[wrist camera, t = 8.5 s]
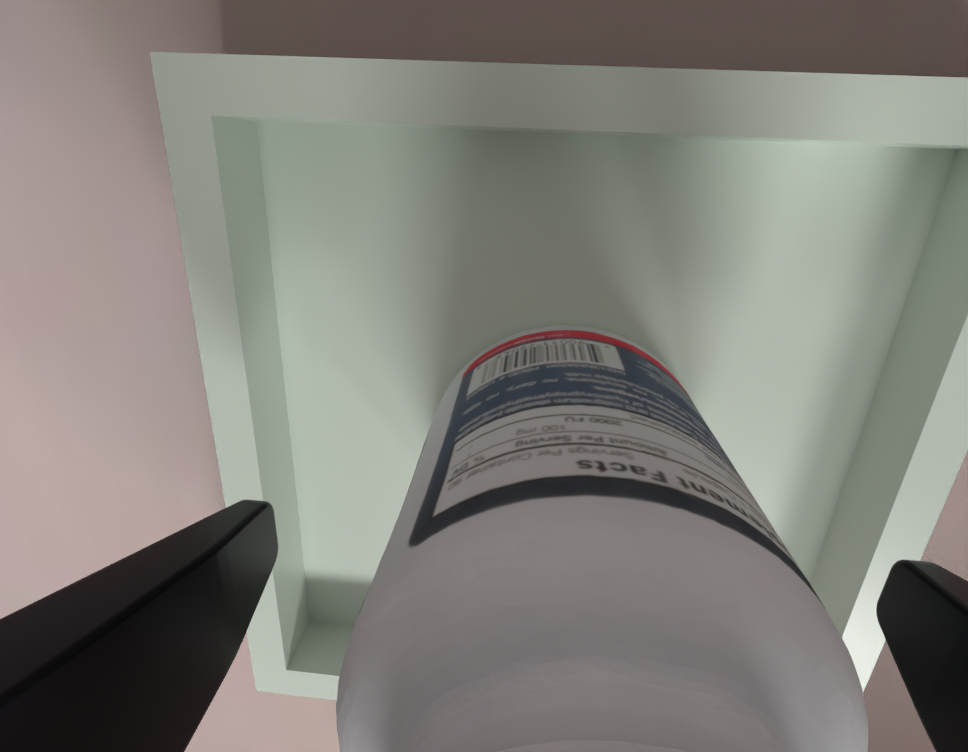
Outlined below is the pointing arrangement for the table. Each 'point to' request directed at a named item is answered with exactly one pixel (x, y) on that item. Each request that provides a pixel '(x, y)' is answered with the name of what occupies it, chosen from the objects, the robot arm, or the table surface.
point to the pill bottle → (588, 578)
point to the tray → (570, 291)
